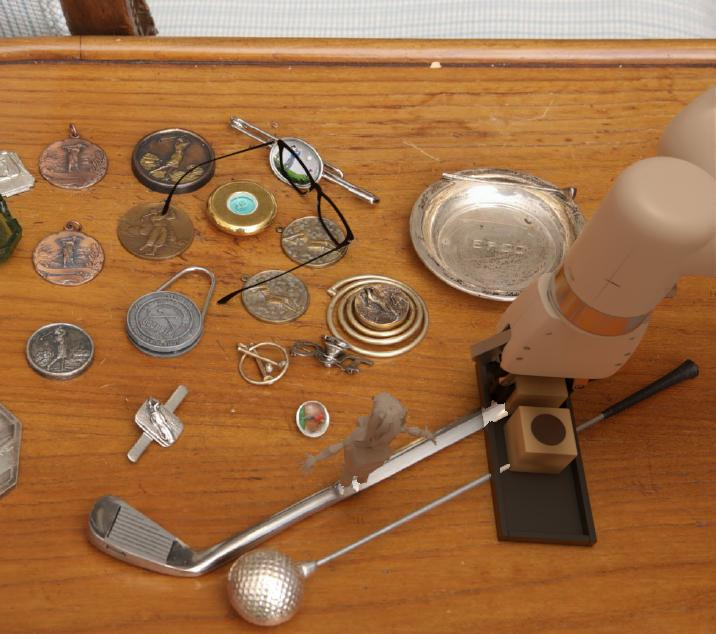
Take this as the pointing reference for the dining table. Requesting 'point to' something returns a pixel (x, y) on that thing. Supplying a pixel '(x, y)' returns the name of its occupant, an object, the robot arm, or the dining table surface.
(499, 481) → the letter tray
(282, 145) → the eyeglasses
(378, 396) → the human figurine
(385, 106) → the dining table surface
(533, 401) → the letter I
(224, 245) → the dining table surface
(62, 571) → the dining table surface
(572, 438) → the wooden block with dot
